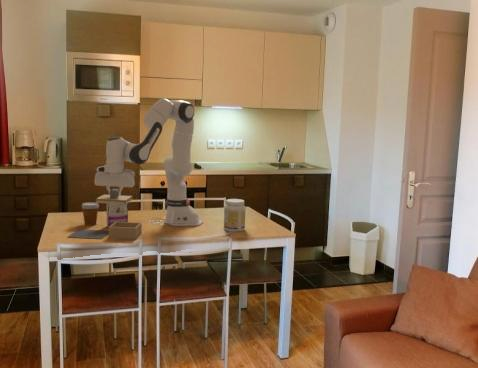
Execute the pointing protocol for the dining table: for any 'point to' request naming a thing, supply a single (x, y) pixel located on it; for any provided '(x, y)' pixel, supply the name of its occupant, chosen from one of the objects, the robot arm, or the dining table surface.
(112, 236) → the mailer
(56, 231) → the dining table surface
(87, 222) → the disposable coffee cup
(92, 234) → the mat
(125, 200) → the lid
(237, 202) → the supplement tub
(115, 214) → the candy bar box
